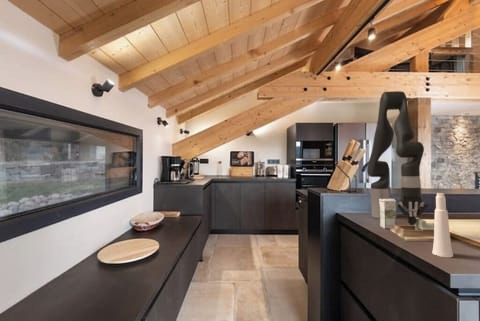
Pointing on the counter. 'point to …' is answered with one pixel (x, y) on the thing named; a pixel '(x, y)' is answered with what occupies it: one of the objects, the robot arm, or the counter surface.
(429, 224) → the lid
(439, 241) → the cosmetic bottle
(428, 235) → the board
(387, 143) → the robot arm
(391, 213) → the syrup box
